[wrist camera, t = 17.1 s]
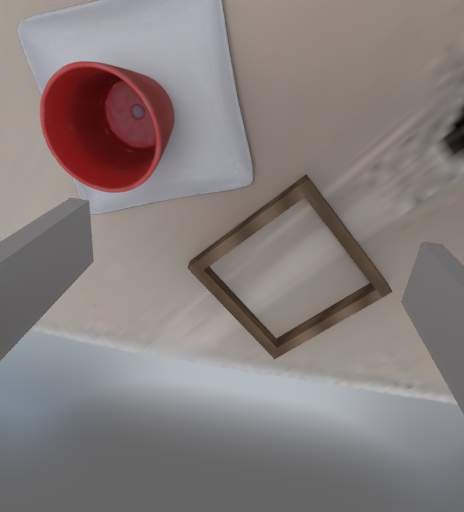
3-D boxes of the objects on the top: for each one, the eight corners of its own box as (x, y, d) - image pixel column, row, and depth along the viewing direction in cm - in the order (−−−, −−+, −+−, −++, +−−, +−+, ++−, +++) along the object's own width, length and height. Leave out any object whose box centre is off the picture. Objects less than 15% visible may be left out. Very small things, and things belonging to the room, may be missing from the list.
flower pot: (165, 38, 37) (124, 40, 28) (203, 149, 42) (177, 178, 33) (75, 73, 40) (14, 84, 31) (120, 172, 45) (77, 205, 36)
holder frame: (306, 174, 46) (308, 179, 44) (387, 283, 51) (392, 291, 50) (189, 261, 52) (187, 268, 50) (274, 350, 58) (274, 359, 56)
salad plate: (218, -28, 38) (214, -37, 35) (256, 178, 47) (256, 186, 44) (27, 24, 41) (9, 20, 38) (97, 208, 50) (86, 217, 47)
